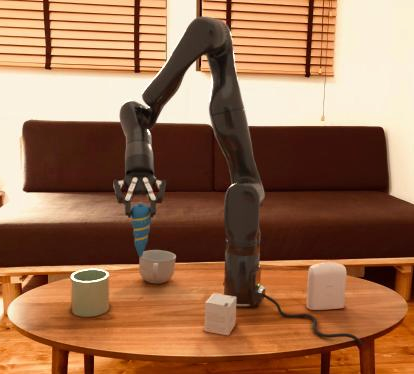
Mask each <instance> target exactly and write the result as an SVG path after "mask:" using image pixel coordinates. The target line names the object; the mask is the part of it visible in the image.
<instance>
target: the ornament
mask: <svg viewBox="0 0 414 374" xmlns="http://www.w3.org/2000/svg"><path fill="white" fill-rule="evenodd" d="M143 203H144V202H143V199H141V198H140V199H139V201H138V204H135V205H132V206H131V219H132V220H131V226H132V228H133V231H132V234H133V238H134V241H133V243H134V244H133V245H134V247H135V249H136V252H137V255H138V257H139V258H140V257H142V255H143V252H144V251H145V249H146V246H147V244H148V241H149V232H150V230H151V222H152V217H150V205H146V204H143Z"/></svg>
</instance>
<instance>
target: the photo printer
mask: <svg viewBox="0 0 414 374" xmlns="http://www.w3.org/2000/svg"><path fill="white" fill-rule="evenodd" d="M346 289H347V269H346V266H344V264H342V263H339V262H331V261H326V262H319V263H315V264H313V265H310V266H309V267H308V272H307V288H306V308H307V309H308V310H309V311H323V310H324V311H325V310H337V309H343V308H344V309H345V301H346Z"/></svg>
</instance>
